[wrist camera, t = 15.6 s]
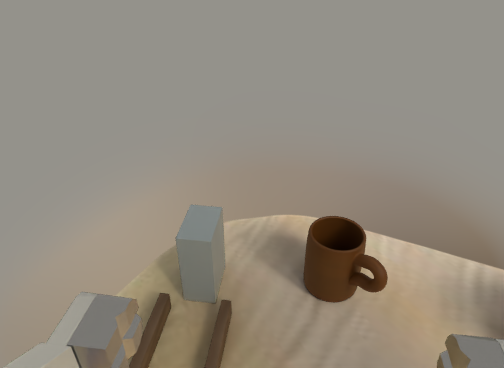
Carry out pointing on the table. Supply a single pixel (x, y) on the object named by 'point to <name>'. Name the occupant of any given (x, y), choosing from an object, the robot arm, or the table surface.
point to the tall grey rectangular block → (201, 253)
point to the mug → (339, 260)
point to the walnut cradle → (156, 326)
